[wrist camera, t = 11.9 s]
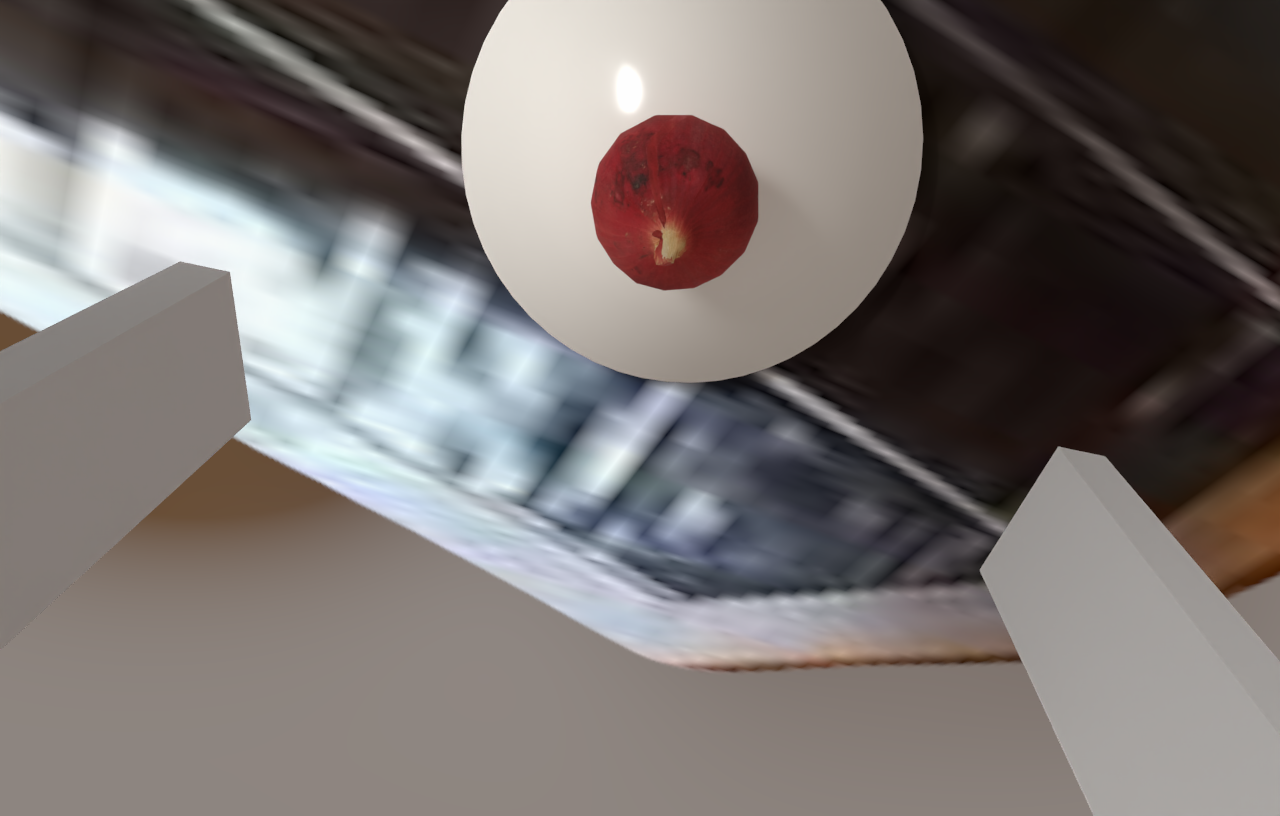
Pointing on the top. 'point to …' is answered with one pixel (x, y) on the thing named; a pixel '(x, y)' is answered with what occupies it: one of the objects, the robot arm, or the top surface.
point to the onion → (674, 202)
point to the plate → (728, 98)
